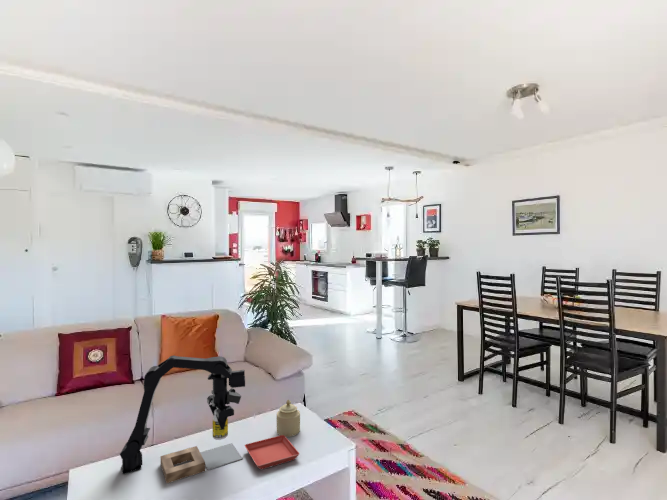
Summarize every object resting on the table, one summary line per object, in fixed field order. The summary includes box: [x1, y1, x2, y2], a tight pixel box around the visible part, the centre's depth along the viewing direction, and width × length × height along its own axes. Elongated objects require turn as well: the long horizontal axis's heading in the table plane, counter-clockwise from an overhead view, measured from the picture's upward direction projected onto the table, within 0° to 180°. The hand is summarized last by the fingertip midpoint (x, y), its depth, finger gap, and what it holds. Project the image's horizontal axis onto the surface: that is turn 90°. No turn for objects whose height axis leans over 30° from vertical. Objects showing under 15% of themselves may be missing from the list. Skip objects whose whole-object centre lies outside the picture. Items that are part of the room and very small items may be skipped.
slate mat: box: [200, 442, 244, 471], centre depth 158 cm, size 14×14×1 cm
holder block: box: [159, 445, 206, 484], centre depth 150 cm, size 14×14×4 cm
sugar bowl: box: [276, 399, 301, 438], centre depth 181 cm, size 15×11×15 cm
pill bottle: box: [212, 409, 229, 441], centre depth 158 cm, size 6×6×11 cm
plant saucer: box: [244, 435, 300, 470], centre depth 159 cm, size 18×18×3 cm
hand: (220, 425), depth 158 cm, fingers closed on pill bottle, 6 cm apart
